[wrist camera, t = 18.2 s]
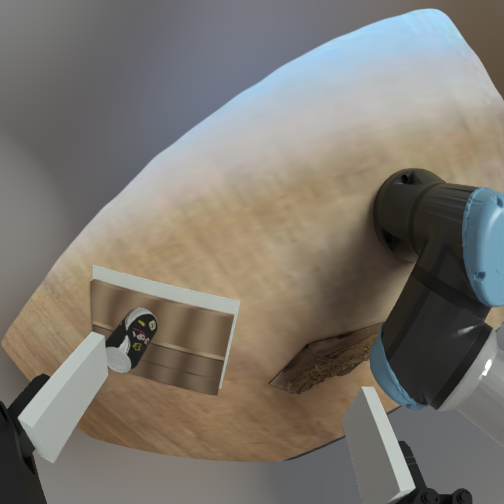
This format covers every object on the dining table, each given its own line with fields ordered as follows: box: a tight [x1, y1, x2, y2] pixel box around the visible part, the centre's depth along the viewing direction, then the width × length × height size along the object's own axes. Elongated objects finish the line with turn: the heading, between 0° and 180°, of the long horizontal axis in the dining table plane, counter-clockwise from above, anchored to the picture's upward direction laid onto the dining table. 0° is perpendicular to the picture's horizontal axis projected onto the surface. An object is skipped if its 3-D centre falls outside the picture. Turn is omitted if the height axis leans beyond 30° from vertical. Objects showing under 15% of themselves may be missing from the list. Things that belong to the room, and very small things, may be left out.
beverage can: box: [105, 307, 158, 373], centre depth 40 cm, size 6×6×12 cm
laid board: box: [93, 324, 224, 396], centre depth 49 cm, size 26×9×2 cm, turn 78°
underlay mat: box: [93, 265, 240, 389], centre depth 48 cm, size 27×20×1 cm
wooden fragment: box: [270, 322, 384, 394], centre depth 49 cm, size 26×11×1 cm, turn 119°
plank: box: [91, 279, 234, 361], centre depth 46 cm, size 26×9×2 cm, turn 78°
